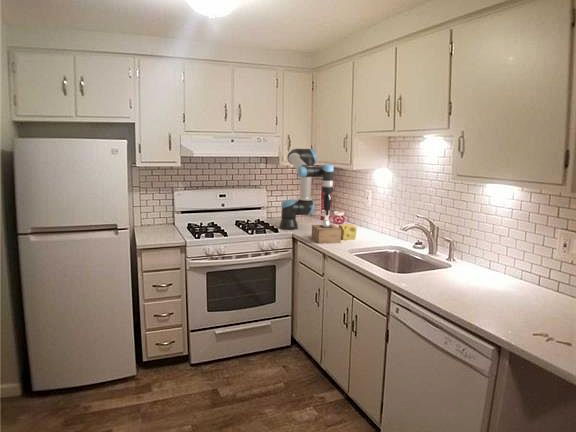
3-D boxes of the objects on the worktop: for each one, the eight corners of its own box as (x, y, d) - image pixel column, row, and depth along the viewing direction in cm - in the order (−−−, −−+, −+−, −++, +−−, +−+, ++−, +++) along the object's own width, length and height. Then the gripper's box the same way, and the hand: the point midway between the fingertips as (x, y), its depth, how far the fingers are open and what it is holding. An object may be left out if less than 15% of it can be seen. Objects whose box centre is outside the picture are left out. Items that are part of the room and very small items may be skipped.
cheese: (343, 240, 307) (343, 226, 305) (337, 237, 317) (337, 224, 315) (356, 239, 310) (356, 226, 308) (350, 236, 320) (350, 223, 318)
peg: (321, 231, 305) (322, 219, 304) (328, 231, 306) (328, 219, 305) (323, 233, 301) (324, 220, 299) (330, 232, 302) (330, 220, 300)
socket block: (311, 238, 311) (311, 224, 310) (332, 237, 315) (332, 223, 313) (318, 243, 294) (319, 229, 292) (340, 243, 298) (341, 228, 296)
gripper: (319, 185, 304) (318, 218, 307) (325, 187, 291) (324, 221, 295) (329, 185, 305) (328, 218, 309) (335, 187, 293) (334, 221, 296)
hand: (326, 219), depth 302 cm, fingers closed
